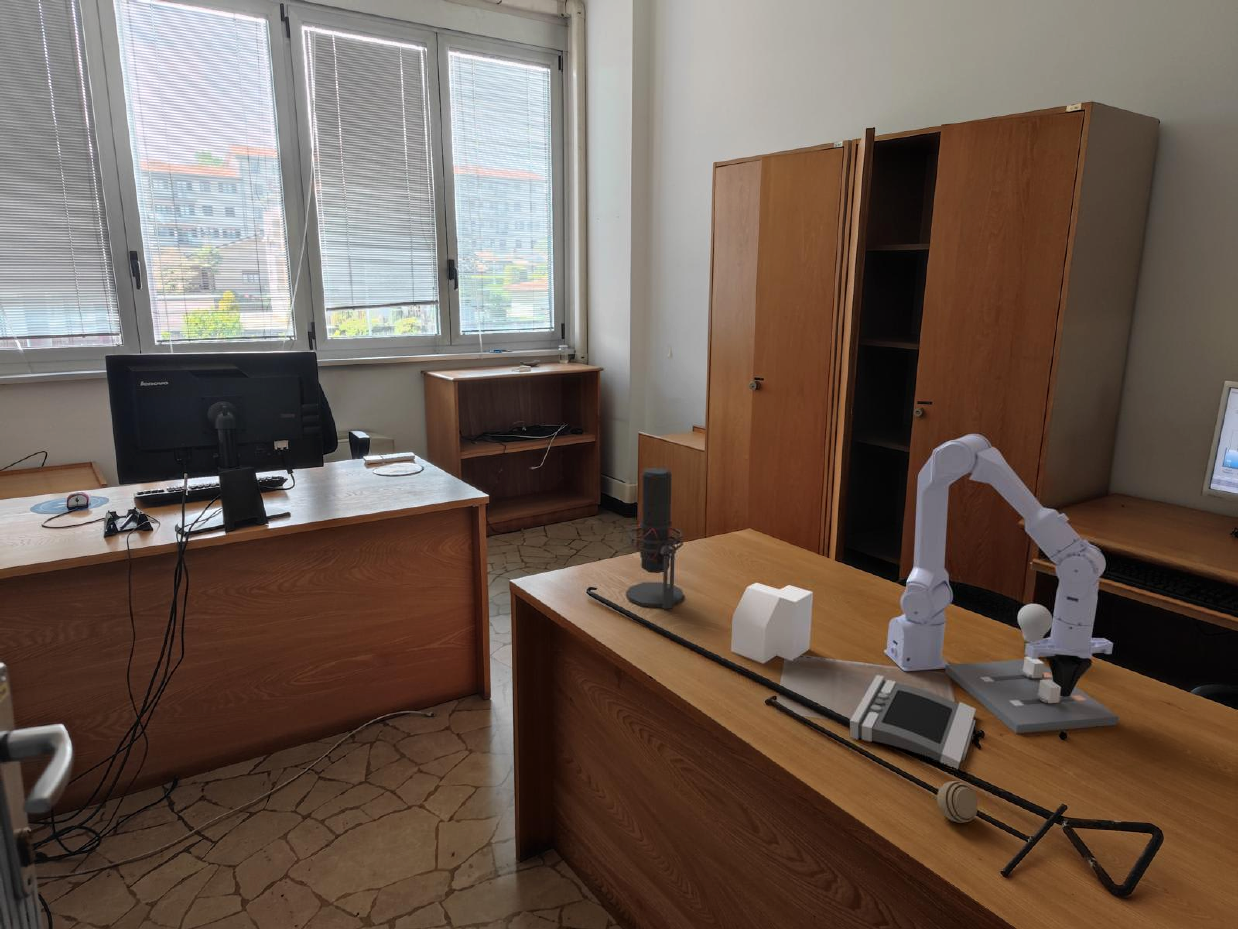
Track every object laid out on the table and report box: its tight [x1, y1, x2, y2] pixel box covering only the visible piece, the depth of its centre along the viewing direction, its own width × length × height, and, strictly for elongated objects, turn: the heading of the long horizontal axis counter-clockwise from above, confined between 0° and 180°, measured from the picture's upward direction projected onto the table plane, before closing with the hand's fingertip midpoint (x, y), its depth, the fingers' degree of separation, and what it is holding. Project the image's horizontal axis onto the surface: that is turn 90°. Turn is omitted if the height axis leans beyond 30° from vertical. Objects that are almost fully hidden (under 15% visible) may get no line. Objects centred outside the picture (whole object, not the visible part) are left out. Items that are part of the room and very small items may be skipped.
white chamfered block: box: [730, 582, 814, 664], centre depth 145 cm, size 11×11×12 cm
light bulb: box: [1017, 603, 1053, 650], centre depth 145 cm, size 6×6×10 cm
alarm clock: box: [849, 674, 977, 770], centre depth 120 cm, size 17×5×16 cm
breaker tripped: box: [1036, 679, 1061, 703], centre depth 125 cm, size 3×3×3 cm
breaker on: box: [1021, 656, 1045, 678], centre depth 134 cm, size 3×3×3 cm
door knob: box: [936, 780, 979, 824], centre depth 99 cm, size 5×5×5 cm
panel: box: [944, 659, 1119, 734], centre depth 130 cm, size 18×20×2 cm
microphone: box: [625, 467, 685, 610], centre depth 169 cm, size 14×13×30 cm
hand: (1062, 693), depth 126 cm, fingers closed
